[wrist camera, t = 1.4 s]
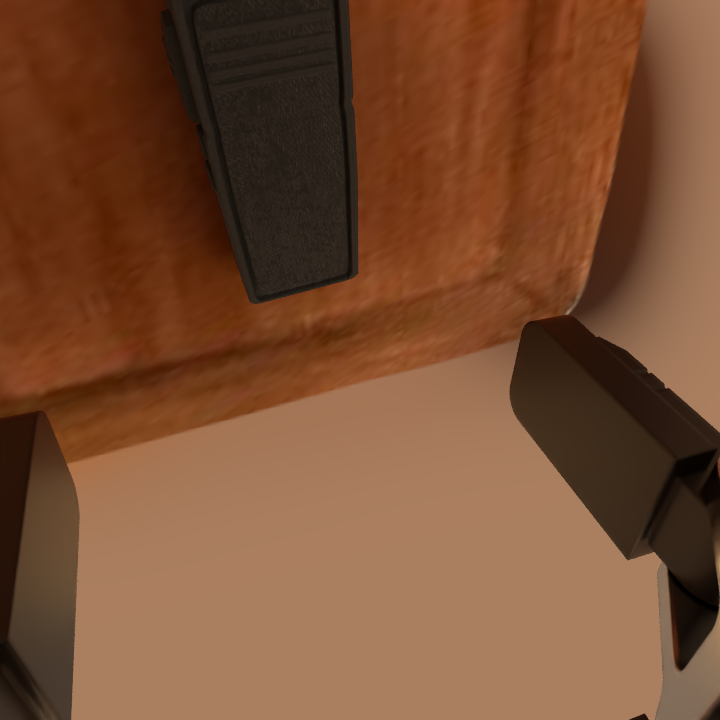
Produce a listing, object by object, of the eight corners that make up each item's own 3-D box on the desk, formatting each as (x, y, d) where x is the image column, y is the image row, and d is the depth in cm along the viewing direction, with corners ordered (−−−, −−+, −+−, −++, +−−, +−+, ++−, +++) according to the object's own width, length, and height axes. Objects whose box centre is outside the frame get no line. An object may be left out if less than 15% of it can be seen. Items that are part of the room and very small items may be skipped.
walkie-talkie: (194, 304, 24) (-114, -614, 10) (274, 223, 28) (132, -527, 14) (328, 344, 22) (181, -743, 8) (395, 251, 26) (376, -599, 12)
